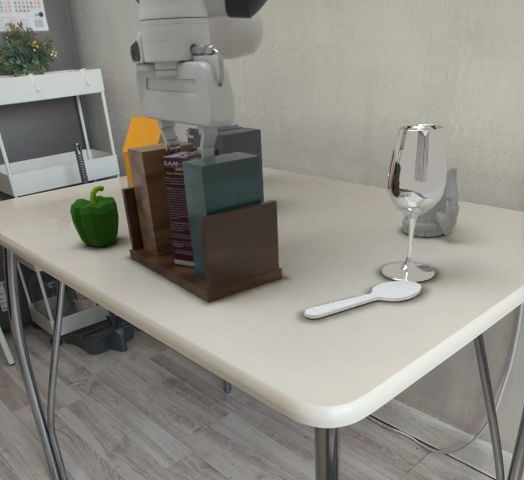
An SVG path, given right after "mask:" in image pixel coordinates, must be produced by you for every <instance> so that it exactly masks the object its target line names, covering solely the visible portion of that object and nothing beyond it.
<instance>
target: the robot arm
mask: <svg viewBox="0 0 524 480" xmlns="http://www.w3.org/2000/svg"><path fill="white" fill-rule="evenodd" d="M135 1H136V3H138V4H139V9H138V10H139V11H138V23H139V30H140V31H139V32H138V33H137V36H136V37H135V39H134V40H133V41H132V42H131V43H130V44H129V46H128V57H129V61H130V63H132V64H135V66H134V81H135V88H136V93H137V97H138V103H139V108H140V110H141V112H142V114H143V115H144V116H143V117H146V118H149V119H156V120H157V121H158V128H159V130H160V132H161V135H162V137H163V139H164V141H165V149H166V151H167V152H168V153H178V152H180V150H181V148H180V139H179V138H178V136H177V134H176V131H175V127H176V124H183V125H189V128H188V129H186V130H185V132H187V133H186V134H185V135H186V136H187V143H192V144H194V135H193V131H195V130H199V135H201V143H200V147H197V151H198V158H199V159H200V158H206V157H211V156H214V145H215V141H216V138H217V134H218V131H217V127H224V126H229V125H230V126H238V127H239V125H238V124H237V118H236V104H235V103H236V101H235V93H234V90H233V88H232V83H231V78H230V75H229V70H228V68H227V66H226V64H225V63H224V60H234V59H240V58H243V57H247V56H251V55H253V54H255V53H256V52H257V51H258V50H259V48H260V46H261V43H262V41H263V37H264V23H263V19H262V16H261V14H260V12H259V11H260V10H261V9H262V8H264V5H265V4H266V3H267V2H268V0H135ZM176 136H177V137H176ZM177 138H178V139H177ZM194 148H195V144H194Z"/></svg>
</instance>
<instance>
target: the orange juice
mask: <svg viewBox="0 0 524 480" xmlns="http://www.w3.org/2000/svg"><path fill="white" fill-rule="evenodd" d="M176 137H177V139H179V137H178V136H177V135H176ZM161 143H165V141H164V139H163V137H162V135H161V132H160V130H159V128H158V121H157V120H156V119H149V118H146V117H145V116H134V115H133V116H131V121H130V123H129V127H128V130H127V134H126V137H125V140H124V144H123V147H122V156H123V163H124V168H125V173H126V179H127V180H126V181H127V187H132V186H134V185H133V179H132V173H131V167H130V161H129V155H128V148H135V147H142V146H148V145H155V144H161Z"/></svg>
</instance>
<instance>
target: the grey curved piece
mask: <svg viewBox="0 0 524 480" xmlns="http://www.w3.org/2000/svg"><path fill="white" fill-rule="evenodd" d="M457 172H458V167H457V166H452V167H450V168H448V169H447V179H446V187H445V192H444V194H443V196H442V198H441V200H440V201H439V202H438V203H437V205H436V206H435V207H433V208H432V209H431V210H429V211H428V212H426V213H424V214H422V215H419V216H418V217H417V220H416V224H415V229H414V237H418V238H419V237H420V238H434V237H439V236H442V235H443V234H444V235H445V236H448V235H450V234H451V233H452V231H453V229H455V227H456V226H457V221H458V216H459V211H460V205H459V189H458V181H457V175H458V174H457ZM404 215H405V216H404V217H403V219H402V220H401V222H402V225H403V232H404V234H407V235H409V219H408V216H407V215H406V214H404Z"/></svg>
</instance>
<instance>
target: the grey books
mask: <svg viewBox="0 0 524 480" xmlns="http://www.w3.org/2000/svg"><path fill="white" fill-rule="evenodd" d="M217 131H218V134H217V138H216V141H215V145H214V149H219V155H223V154H228V153H234V152H242V153H247V154H252V155H258V156H259V162H260V181H261V201H262V202H265V194H264V193H265V192H264V169H263V151H262V149H263V147H262V132H261V131H262V129H260V128H252V127H244V126H239V125H238V126H230V125H229V126H224V127H217ZM193 135H194V144H195V148H197V147H200V143H201V135H199V130H195V131H193Z"/></svg>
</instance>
